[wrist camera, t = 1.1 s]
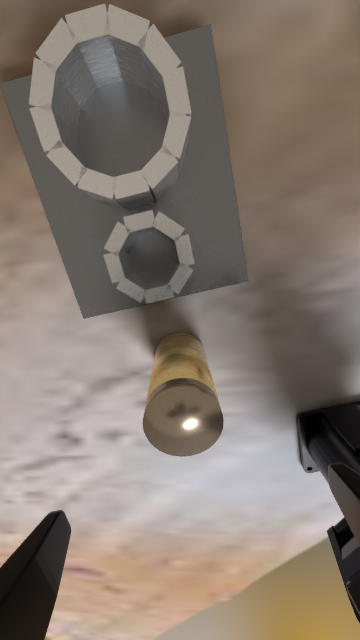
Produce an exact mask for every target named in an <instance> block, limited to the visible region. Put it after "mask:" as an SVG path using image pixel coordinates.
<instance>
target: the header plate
mask: <svg viewBox="0 0 360 640" xmlns="http://www.w3.org/2000/svg"><path fill="white" fill-rule="evenodd" d="M65 17H66V21H67V24H66V22H65V21H64V20H63V19H62V18H61V19H60V20H59V22H58V23H57V24H56V26H55V27H54V29H53V30H52V31H51V33H50V34H49V35H48V37H47V38H46V39H45V41H44V42H43V44H42V45H41V46H40V48H39V49H38V50H37V52H36V55H37V56H38V57H39V59H40V60H39V59H37V58H34V61H33V70H32V75H29V76H25V77H22V78H18V79H14V80H11V81H7V82H4V83H0V87H1V90H2V92H3V95H4V98H5V101H6V104H7V106H8V109H9V112H10V115H11V117H12V120H13V123H14V126H15V129H16V131H17V134H18V137H19V140H20V143H21V145H22V148H23V151H24V154H25V157H26V159H27V162H28V165H29V168H30V170H31V173H32V176H33V179H34V182H35V184H36V187H37V190H38V193H39V196H40V198H41V201H42V204H43V207H44V210H45V212H46V215H47V218H48V221H49V223H50V226H51V229H52V232H53V235H54V237H55V240H56V243H57V246H58V249H59V251H60V254H61V257H62V260H63V262H64V265H65V268H66V271H67V274H68V276H69V279H70V282H71V285H72V288H73V290H74V293H75V296H76V299H77V302H78V304H79V307H80V310H81V313H82V315H83V318H84V319H85V318H89V317H93V316H98V315H102V314H106V313H111V312H115V311H120V310H124V309H128V308H133V307H137V306H141V305H146V304H150V303H154V302H159V301H163V300H167V299H172V298H176V297H180V296H185V295H189V294H193V293H198V292H202V291H207V290H211V289H215V288H220V287H224V286H228V285H233V284H237V283H241V282H246V281H248V276H247V269H246V262H245V255H244V249H243V242H242V235H241V228H240V221H239V215H238V208H237V201H236V194H235V187H234V181H233V174H232V167H231V160H230V153H229V147H228V140H227V133H226V126H225V119H224V113H223V106H222V99H221V92H220V85H219V79H218V72H217V65H216V58H215V51H214V45H213V38H212V31H211V24H210V25H207V26H203V27H200V28H196V29H193V30H189V31H185V32H182V33H178V34H175V35H171V36H168V37H164V38H163V36H162V35H161V33H160V32H159V31H158V29H157V28H156V27H155V25H154V24H153V25H152V26H151V27H150V21H149V20H147V19H145V18H142V17H140V16H137V15H135V14H133V13H130V12H128V11H125V10H123V9H121V8H118V7H116V6H113V5H111V4H109V7H108V12H107V9H106V5H105V4H101V5H98V6H94V7H91V8H88V9H84V10H81V11H77V12H74V13H70V14H67V15H65Z"/></svg>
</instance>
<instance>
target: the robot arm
mask: <svg viewBox="0 0 360 640" xmlns="http://www.w3.org/2000/svg"><path fill="white" fill-rule="evenodd" d="M303 419H304V420H303ZM297 422H298V432H299V441H300V450H301V460H302V467H303V469H304V471H305V472H306V473H313V472H318V471H321V473H322V475H323V476H324V478H325V479H326V481H327V482H328V484H329V486H330V489H331V491H332V493H333V495H334V497H335V499H336V501H337V503H338V505H339V507H340V509H341V511H342V513H343V515H344V518H343V519H342V520H341V521H339V522H338V523H337V524H336V525H335V526H332V527H330V528H329V529H328V530H327V533H328V536H329V539H330V542H331V545H332V548H333V551H334V554H335V557H336V560H337V563H338V567H339V569H340V573H341V575H342V579H343V582H344V585H345V588H346V591H347V594H348V597H349V600H350V602H351V605H352V607H353V609H354V613H355V615H356V617H357V619H358V621H359V622H360V401H359V402H354V403H349V404H344V405H340V406H335V407H330V408H325V409H320V410H315V411H310V412H305V413H301V414H299V415H298V417H297ZM70 535H71V527H70V524H69V522H68V520H67V517H66V515H65V513H64V511H62V510H58V511H53V512H50V513H49V514H48V515H47V516H46V517H45V518H44V519H43V520H42V521H41V522H40V524H39V525H38V526H37V527H36V528H35V529H34V530H33V531H32V533H31V534H30V535H29V536H28V537H27V538H26V539H25V540H24V542H23V543H22V544H21V545H20V546H19V547H18V548H17V549H16V551H15V552H14V553H13V554H12V555H11V556H10V557H9V559H8V560H7V561H6V562H5V563H4V564H3V565H2V566H1V568H0V640H44V639H45V636H46V632H47V629H48V626H49V622H50V619H51V615H52V612H53V609H54V605H55V602H56V598H57V594H58V590H59V586H60V581H61V577H62V572H63V567H64V563H65V558H66V554H67V549H68V544H69V540H70Z"/></svg>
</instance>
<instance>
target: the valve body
mask: <svg viewBox="0 0 360 640" xmlns="http://www.w3.org/2000/svg"><path fill="white" fill-rule="evenodd" d="M143 429H144V433H145V435H146V437H147V439H148V440H149V442H150V443H151V444H152V445H153V446H154V447H155V448H157V449H158V450H160V451H162V452H164V453H166V454H169V455H174V456H191V455H195V454H198V453H201V452H203V451H205V450H207V449H208V448H210V447H211V446H212V445H213V444H214V443H215V442H216V441H217V440H218V438H219V436H220V434H221V432H222V429H223V415H222V411H221V408H220V404H219V401H218V397H217V394H216V390H215V387H214V383H213V380H212V376H211V373H210V369H209V366H208V362H207V359H206V355H205V352H204V349H203V346H202V344H201V343H200V341H199V340H198V339H197V338H195V337H194V336H192V335H190V334H187V333H173V334H170V335H168V336H166V337H165V338H164V339H163V340H162V341H161V342H160V343H159V345H158V346H157V349H156V353H155V359H154V364H153V369H152V375H151V380H150V385H149V391H148V396H147V401H146V407H145V412H144V417H143Z"/></svg>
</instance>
